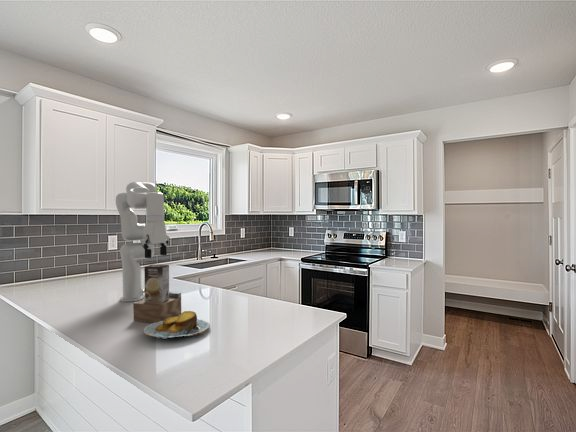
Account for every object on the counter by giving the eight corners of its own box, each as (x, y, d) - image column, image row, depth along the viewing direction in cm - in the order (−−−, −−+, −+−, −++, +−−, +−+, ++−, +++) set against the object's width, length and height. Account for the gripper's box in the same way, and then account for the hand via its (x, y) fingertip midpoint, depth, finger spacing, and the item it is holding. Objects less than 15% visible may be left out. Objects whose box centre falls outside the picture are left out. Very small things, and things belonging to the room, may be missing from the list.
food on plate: (137, 331, 129) (136, 315, 129) (195, 318, 144) (195, 303, 144) (153, 351, 109) (153, 332, 109) (220, 334, 124) (219, 317, 124)
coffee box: (143, 301, 141) (143, 266, 141) (151, 298, 148) (151, 264, 148) (162, 302, 140) (162, 266, 140) (170, 298, 146) (169, 264, 146)
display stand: (157, 311, 154) (157, 290, 154) (181, 313, 149) (181, 292, 149) (133, 321, 139) (133, 298, 139) (159, 324, 135) (158, 301, 135)
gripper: (161, 219, 153) (162, 253, 153) (134, 219, 137) (134, 258, 137) (174, 218, 151) (175, 254, 151) (147, 219, 134) (148, 259, 134)
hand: (156, 256), depth 144 cm, fingers open, 9 cm apart
